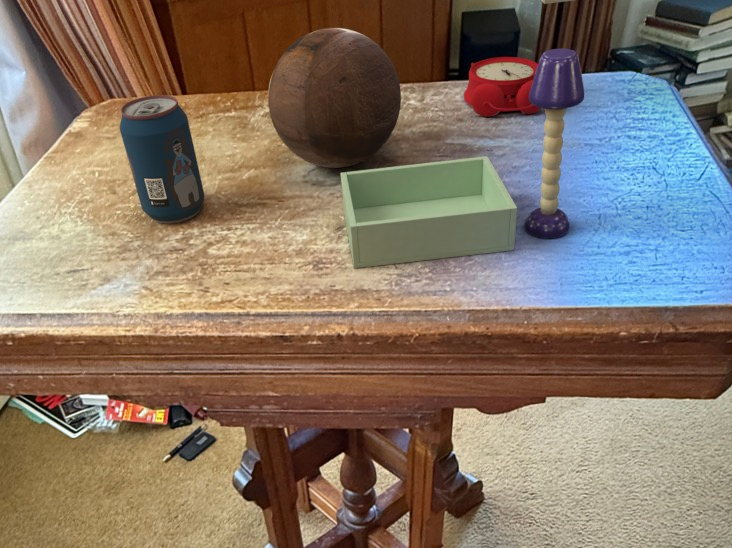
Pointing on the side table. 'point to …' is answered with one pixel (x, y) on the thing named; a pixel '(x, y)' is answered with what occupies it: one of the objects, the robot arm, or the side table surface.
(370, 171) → the tub
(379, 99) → the wooden sphere
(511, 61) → the alarm clock
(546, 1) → the brush
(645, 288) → the side table surface
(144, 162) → the soda can
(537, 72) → the toy lamp
